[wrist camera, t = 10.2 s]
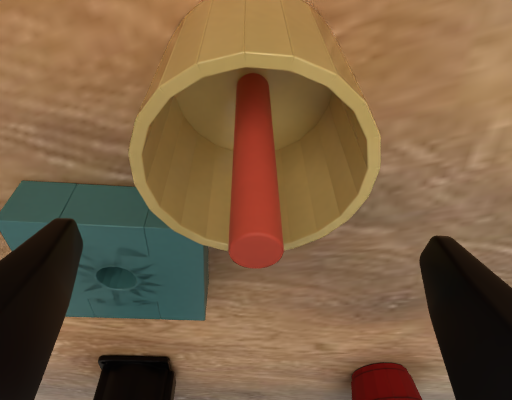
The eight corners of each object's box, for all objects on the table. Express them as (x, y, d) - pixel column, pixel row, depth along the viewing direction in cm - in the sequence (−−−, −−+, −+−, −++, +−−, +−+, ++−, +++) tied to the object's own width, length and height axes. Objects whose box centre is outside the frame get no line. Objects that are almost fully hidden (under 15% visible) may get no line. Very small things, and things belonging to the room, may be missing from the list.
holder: (66, 277, 26) (49, 316, 24) (21, 180, 20) (-7, 220, 17) (208, 282, 26) (205, 320, 24) (208, 190, 20) (203, 230, 18)
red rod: (235, 101, 16) (227, 268, 10) (237, 71, 15) (229, 233, 9) (267, 103, 16) (280, 270, 10) (270, 73, 15) (287, 235, 9)
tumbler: (172, 148, 18) (145, 248, 14) (157, -25, 13) (106, 40, 8) (320, 157, 19) (344, 257, 14) (362, -6, 14) (422, 66, 9)
